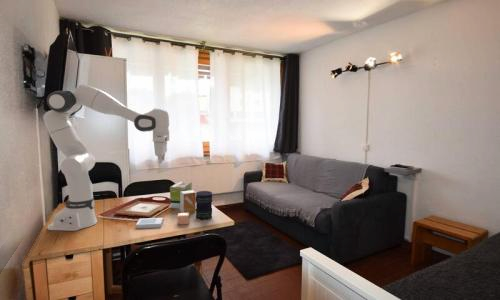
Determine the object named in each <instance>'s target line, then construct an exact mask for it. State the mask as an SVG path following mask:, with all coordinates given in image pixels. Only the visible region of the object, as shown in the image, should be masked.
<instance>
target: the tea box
mask: <svg viewBox="0 0 500 300" xmlns="http://www.w3.org/2000/svg"><path fill="white" fill-rule="evenodd" d="M189 190H193V187H192V181H191V182H190V181H178V182H176V183H174V184H173V185H171V186H170V187H169V200H170V203H169V204H170V209H180V192H182V191H189Z"/></svg>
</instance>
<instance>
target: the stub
mask: <svg viewBox="0 0 500 300" xmlns="http://www.w3.org/2000/svg"><path fill="white" fill-rule="evenodd" d="M189 222H190V213H182V212H178V213H177V225H189Z"/></svg>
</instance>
